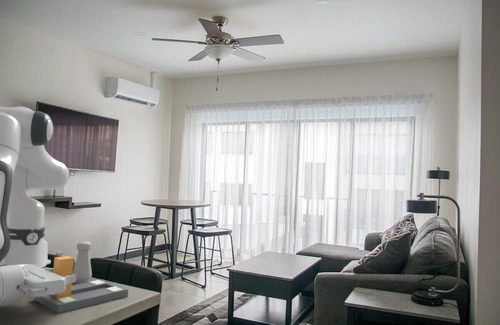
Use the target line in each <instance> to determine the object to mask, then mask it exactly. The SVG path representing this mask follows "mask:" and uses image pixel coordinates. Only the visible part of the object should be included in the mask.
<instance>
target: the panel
mask: <svg viewBox="0 0 500 325" xmlns="http://www.w3.org/2000/svg"><path fill="white" fill-rule="evenodd" d="M128 296H129V289H128V288H126V287H123V286H121V285H118V284H115V283H112V282H110V281H108V280H105V279H97V280H92V281H91V280H90V281H89V282H87V283H82V284H72V288H71V296H70V297H63V298H59V299H54V298H52V295H48V296H41V297H33V298H34V299H33V300H34V301H35V302H37V303H40V304H41V305H43V306H44V307H46V308H48V309H50V310H52V311H54V312H55V313H57V314H61V313H65V312H70V311H73V310H78V309H81V308H85V307H86V308H87V307H89V306H93V305H97V304H101V303H106V302H109V301H113V300H118V299H123V298H126V297H128Z"/></svg>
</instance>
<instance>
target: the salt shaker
mask: <svg viewBox="0 0 500 325" xmlns="http://www.w3.org/2000/svg"><path fill="white" fill-rule="evenodd" d="M91 249H92V243H91V242H90V241H80V242H78V243H76V250H78V252H77V255H76V260H75V264H74V266H73V273H72V274H74V275H76V281H75V282H74V285H76V284H82V283H87V282H91V278H92V277H93V273H92V265H91V257H90V250H91Z"/></svg>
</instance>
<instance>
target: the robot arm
mask: <svg viewBox="0 0 500 325" xmlns="http://www.w3.org/2000/svg"><path fill="white" fill-rule="evenodd" d="M53 133H54V125H53V121H52V118H51V117H50V115H49V114H48V113H45V112H43V111H40V110H35V111H34V110H32V109H31V108H28V107H26V106H22V105H21V106H12V107H7V106H0V305H5V304H10V303H14V302H15V303H17V302H18V301H20V300H21V299H22V298H23V296H24V295H29V296H30V297H31V298H32V297H33V298H35V297H41V296H48V295H55V294H60V293H63V292H64V291H65V288H66V285H67V284H69V283H72V284H73V283H75V281H76V275H74V274H73V273H72V274H71V275H67V276H65V277H63V276H59V275H57V274H55V273H53V271H54V267H51V268H49V267H46V266H47V265H50V264H52V263H51V262H52V260H51V259H48V241H46V240H45V238H44V237H45V233H46V231H45V229H46V227H45V226H44V225H45V211H46V210H45V206H44V204H43V203H42V202H41V201H39V200H37V199H36V198H33V197H31V196H30V194H29V193H28V190H35V191H37V190H38V191H41V190H42V191H50V190H51V191H52V190H57V189H58V190H59V189H62V188H64V187H65V186H66V184H67V183H68V181H69V179H70V171H69V168H68V167H67V166H66V164H65V163H64V162H61V161H59V160H57V159H55V158H54V157H52V156H51V155H50V154H49V152H47V150H46V148H45V145H46V144H47V143H49V142H50V140H51V138H52V136H53ZM7 217H8V222H7Z"/></svg>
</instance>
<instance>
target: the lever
mask: <svg viewBox="0 0 500 325" xmlns="http://www.w3.org/2000/svg"><path fill="white" fill-rule="evenodd" d="M53 268H54V271H53V273H55V274H57V275H59V276H63V277H65V276H67V275H71V274H73V270H74V257H72V256H69V255H64V256H55V257H54V258H53ZM72 285H73V282H72V283H69V284H67V285H66V288H65V291H64V292H63V293H60V294H55V295H52V298H54V299H59V298H63V297H70V296H71V288H72Z"/></svg>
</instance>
